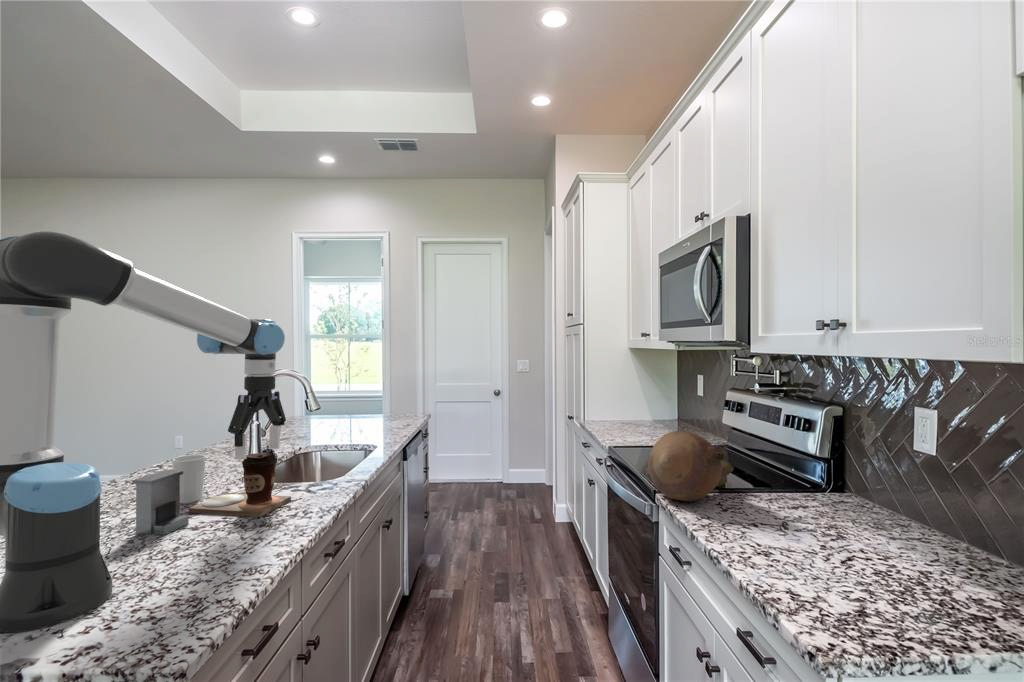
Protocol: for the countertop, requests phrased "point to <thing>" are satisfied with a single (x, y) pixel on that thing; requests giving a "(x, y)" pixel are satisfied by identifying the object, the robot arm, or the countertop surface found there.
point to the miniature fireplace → (159, 503)
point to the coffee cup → (259, 477)
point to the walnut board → (237, 505)
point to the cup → (190, 476)
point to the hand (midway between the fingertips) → (258, 453)
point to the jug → (687, 466)
